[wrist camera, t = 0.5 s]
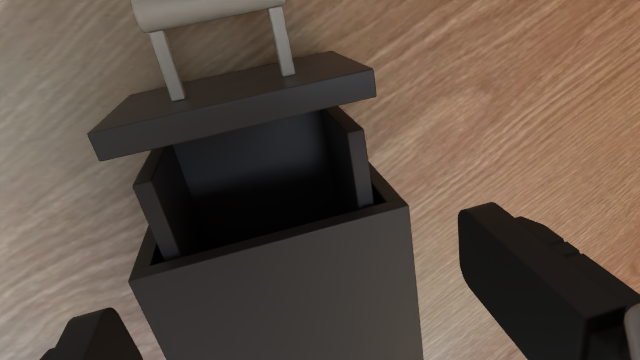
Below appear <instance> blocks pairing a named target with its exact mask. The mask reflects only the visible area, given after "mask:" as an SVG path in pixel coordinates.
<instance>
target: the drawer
mask: <svg viewBox="0 0 640 360" xmlns="http://www.w3.org/2000/svg"><path fill="white" fill-rule="evenodd" d="M285 3H286V0H131V4H132V8H133V12H134V15H135V18H136V20H137V23H138V25H139V27H140V29H141V30H142V31H143V32H144V33H149V37H150V40H151V42H152V45H153V48H154V51H155V54H156V57H157V60H158V63H159V66H160V68H161V71H162V74H163V77H164V80H165V83H166V86H167V87H164V88H159V89H155V90H150V91H145V92H141V93H136V94H132V95H130V96H128V97H127V98H126V99H125V100H124V101H123V102H122V103H121V104H120V105H118V106H117V107H116V108H115V109H114V110H113V111H112V112H111V113H110V114H109V115H107V116H106V117H105V118H104V119H103V120H102V121H101V122H100V123H99V124H97V125H96V126H95V127H94V128H93V129H92V130H91V131H90V132H89V133H87V135H88V137H89V140H90V142H91V144H92V146H93V148H94V151H95V153H96V155H97V157H98V159H99V161H105V160H110V159H114V158H118V157H122V156H127V155H131V154H135V153H139V152H144V151H148V150H151V152H150V154H149V156H148V157H147V159H146V161H145V163H144V165H143V167H142V169H141V170H140V172H139V174H138V176H137V178H136V180H135V182H134V184H133V189H134V191H135V194H136V196H137V198H138V201H139V203H140V205H141V208H142V210H143V212H144V215H145V217H146V219H147V221H148V224H149V226H150V228H151V231H152V233H153V235H154V238H155V240H156V242H157V245H158V247H159V249H160V252H161V254H162V256H163V259H164V261H165V262H167V261H170V260H174V259H178V258H182V257H185V256H189V255H193V254H196V253H200V252H204V251H208V250H211V249H215V248H219V247H223V246H226V245H230V244H234V243H237V242H241V241H245V240H249V239H252V238H256V237H260V236H264V235H267V234H271V233H275V232H279V231H282V230H286V229H290V228H293V227H297V226H301V225H305V224H308V223H312V222H316V221H320V220H323V219H327V218H331V217H334V216H338V215H342V214H346V213H349V212H353V211H357V210H361V209H364V208H368V207H372V206H374V200H373V192H372V185H371V178H370V171H369V164H368V156H367V149H366V142H365V135H364V129H363V128H362V127H361V126H360V125H358V124H357V123H356V122H355V121H354V120H353V119H352V118H351V117H350V116H349V115H347V114H346V113H345V112H344V111H343V110H342V109H341V108H340V107H339V105H343V104H347V103H352V102H356V101H360V100H364V99H369V98H373V97H376V86H375V78H374V70H373V69H372V68H370V67H368V66H365V65H363V64H361V63H359V62H356V61H354V60H352V59H349V58H347V57H345V56H342V55H340V54H338V53H336V52H333V51H328V52H324V53H319V54H314V55H310V56H305V57H301V58H296V59H292V54H291V49H290V44H289V39H288V34H287V29H286V24H285V19H284V14H283V9H282V6H283V5H285ZM263 9H267V11H268V16H269V20H270V25H271V29H272V34H273V39H274V43H275V48H276V52H277V57H278V61H279V62H278V63H273V64H269V65H264V66H260V67H255V68H250V69H246V70H241V71H237V72H232V73H228V74H223V75H219V76H214V77H209V78H205V79H200V80H196V81H191V82H187V83H182V81H181V78H180V75H179V72H178V69H177V66H176V63H175V60H174V56H173V53H172V50H171V47H170V44H169V41H168V38H167V35H166V32H165V30H164V29H169V28H174V27H179V26H184V25H189V24H194V23H199V22H204V21H209V20H214V19H219V18H223V17H228V16H233V15H238V14H243V13H248V12H253V11H258V10H263Z"/></svg>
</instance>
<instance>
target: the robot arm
mask: <svg viewBox="0 0 640 360" xmlns="http://www.w3.org/2000/svg"><path fill="white" fill-rule="evenodd" d="M458 235H459V260H460V268H461V271H462V274H463V277H464V279H465V281H466V283H467V285H468V286H469V288H470V289H471V290H472V292H473V293H474V294H475V295H476V297H477V298H478V299H479V300H480V301H481V303H482V304H483V305H484V306H485V308H486V309H487V310H488V311H489V312H490V314H491V315H492V316H493V317H494V319H495V320H496V321H497V322H498V324H499V325H500V326H501V327H502V328H503V330H504V331H505V332H506V333H507V335H508V336H509V337H510V338H511V339H512V341H513V342H514V343H515V344H516V346H517V347H518V348H519V349H520V351H521V352H522V353H523V354H524V355H525V357H526V358H527V359H528V360H640V294H638V293H637V292H635V291H634V290H633V289H631V288H630V287H629V286H627V285H626V284H625V283H623V282H622V281H620V280H619V279H618V278H616V277H615V276H614V275H612V274H611V273H609V272H608V271H607V270H605V269H604V268H603V267H601V266H600V265H598V264H597V263H596V262H594V261H593V260H592V259H590V258H589V257H587V256H586V255H585V254H580V252H579V250H578V249H577V248H575V247H574V246H572V245H571V244H570V243H568V242H564V240H563V238H561V237H560V236H559V235H557V234H556V233H555V232H553V231H552V230H550V229H549V228H548V227H546V226H545V225H543V224H540V223H537V222H535V221H532V220H529V219H527V218H524V217H521V216H520V217H516V218H514V217H513V216H511V215H510V214H509V213H508V212H506V211H505V210H504V209H503V208H501V207H500V206H499V205H497V204H496V203H494V202H489V203H486V204H482V205H478V206H475V207H471V208H468V209H464V210H461V211H460V212H459V214H458ZM40 360H143V358H142V356H141V354H140V352H139V350H138V348H137V346H136V345H135V343H134V341H133V339H132V338H131V336H130V334H129V332H128V330H127V329H126V327H125V325H124V323H123V322H122V320H121V318H120V316H119V314H118V313H117V312H116V310H114V309H113V308H105V309H102V310H98V311H95V312H91V313H88V314H84V315H80V316H77V317H73V318H72V319H71V320H70V321H69V322H68V323H67V325H66V327H65V329H64V331H63V333H62V335H61V337H60V339H59V341H58V343H57V345H56V347H55V348H52V349H49V350H48V351H47V352H46V353H45V354H44V355H43V356H42V358H41V359H40Z"/></svg>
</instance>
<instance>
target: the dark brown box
mask: <svg viewBox="0 0 640 360" xmlns="http://www.w3.org/2000/svg"><path fill="white" fill-rule="evenodd" d="M368 164H369V171H370V178H371V185H372V192H373V200H374V206H372V207H368V208H364V209H361V210H357V211H353V212H349V213H346V214H342V215H338V216H334V217H331V218H327V219H323V220H320V221H316V222H312V223H308V224H305V225H301V226H297V227H293V228H290V229H286V230H282V231H279V232H275V233H271V234H267V235H264V236H260V237H256V238H252V239H249V240H245V241H241V242H237V243H234V244H230V245H226V246H223V247H219V248H215V249H211V250H208V251H204V252H200V253H196V254H193V255H189V256H185V257H182V258H178V259H174V260H170V261H167V262H165V261H164V259H163V256H162V254H161V252H160V249H159V247H158V245H157V242H156V240H155V238H154V235H153V233H152V231H151V228H150V226H148V228H147V231H146V234H145V237H144V239H143V242H142V245H141V248H140V250H139V253H138V256H137V258H136V261H135V264H134V267H133V269H132V272H131V275H130V278H129V281H128V282H129V285H130V287H131V289H132V291H133V293H134V295H135V297H136V299H137V301H138V303H139V305H140V307H141V309H142V311H143V313H144V315H145V317H146V319H147V321H148V323H149V325H150V327H151V329H152V331H153V333H154V335H155V337H156V339H157V341H158V343H159V345H160V347H161V350H162V352H163V354H164V356H165V358H166V360H424V359H423V349H422V338H421V328H420V317H419V307H418V297H417V286H416V276H415V265H414V255H413V244H412V234H411V223H410V213H409V205H408V204H407V203H406V202H405V201H404V200H403V199H402V198H401V197H400V196H399V195H398V193H397V192H396V191H395V190H394V189H393V188H392V187H391V186H390V185H389V183H388V182H387V181H386V180H385V179H384V178H383V177H382V176H381V175H380V173H379V172H378V171H377V170H376V169H375V168H374V167H373V166H372V165H371V163H370V162H369V161H368Z"/></svg>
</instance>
